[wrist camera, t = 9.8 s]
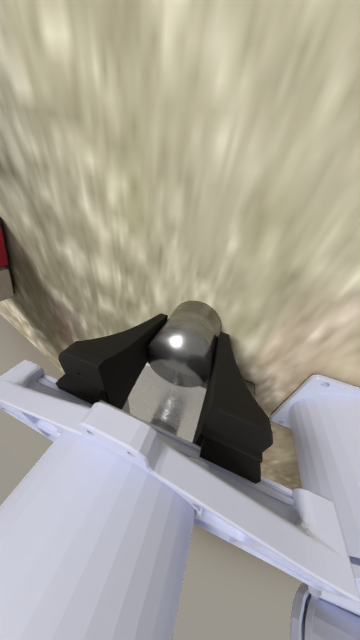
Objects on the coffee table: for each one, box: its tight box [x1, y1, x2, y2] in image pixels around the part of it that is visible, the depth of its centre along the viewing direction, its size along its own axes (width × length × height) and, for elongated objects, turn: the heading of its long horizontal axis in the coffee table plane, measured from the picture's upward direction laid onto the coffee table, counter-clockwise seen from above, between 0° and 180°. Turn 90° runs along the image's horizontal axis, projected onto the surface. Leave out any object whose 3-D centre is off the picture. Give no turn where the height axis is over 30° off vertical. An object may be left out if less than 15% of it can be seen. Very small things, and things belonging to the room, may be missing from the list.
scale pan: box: [128, 362, 207, 443], centre depth 22 cm, size 12×18×1 cm, turn 173°
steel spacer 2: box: [146, 301, 221, 388], centre depth 13 cm, size 4×4×5 cm
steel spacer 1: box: [150, 419, 177, 435], centre depth 23 cm, size 4×4×5 cm
